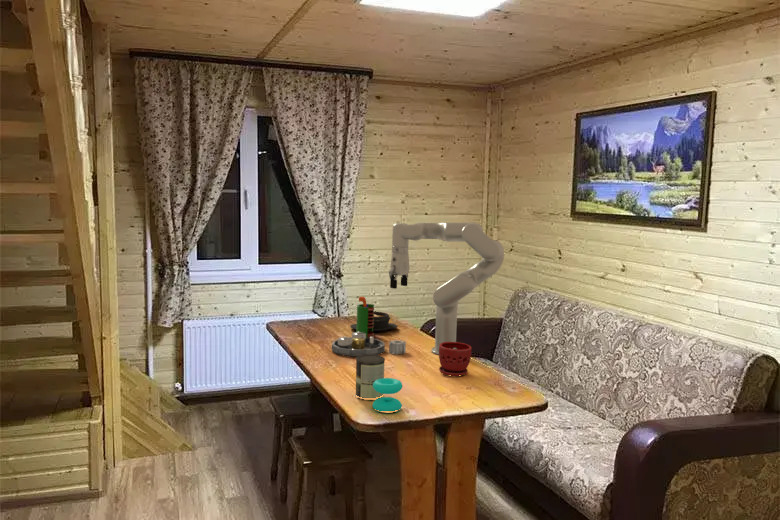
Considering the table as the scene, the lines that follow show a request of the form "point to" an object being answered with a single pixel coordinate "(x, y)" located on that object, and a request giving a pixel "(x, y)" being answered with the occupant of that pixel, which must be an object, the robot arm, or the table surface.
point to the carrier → (358, 345)
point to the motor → (365, 318)
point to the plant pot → (454, 358)
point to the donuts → (387, 388)
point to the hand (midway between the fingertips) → (398, 287)
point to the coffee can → (368, 375)
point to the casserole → (380, 322)
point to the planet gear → (397, 347)
